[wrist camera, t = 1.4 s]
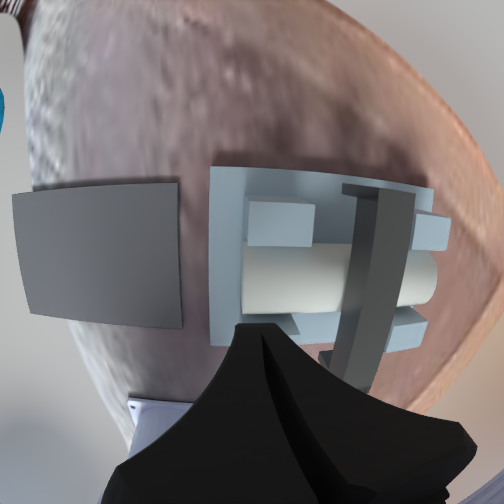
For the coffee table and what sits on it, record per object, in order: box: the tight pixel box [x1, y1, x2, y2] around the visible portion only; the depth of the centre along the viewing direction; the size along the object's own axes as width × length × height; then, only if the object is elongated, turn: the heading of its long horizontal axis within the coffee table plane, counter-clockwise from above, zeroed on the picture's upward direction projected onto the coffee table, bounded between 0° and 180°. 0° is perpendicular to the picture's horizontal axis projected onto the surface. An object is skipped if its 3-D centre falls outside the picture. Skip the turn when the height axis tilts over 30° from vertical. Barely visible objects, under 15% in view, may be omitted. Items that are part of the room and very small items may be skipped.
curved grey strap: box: [318, 183, 416, 393], centre depth 14 cm, size 11×2×4 cm, turn 177°
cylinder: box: [241, 241, 437, 314], centre depth 16 cm, size 4×12×4 cm, turn 87°
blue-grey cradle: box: [209, 166, 451, 353], centre depth 16 cm, size 12×16×5 cm
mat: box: [12, 183, 183, 329], centre depth 17 cm, size 10×14×1 cm
